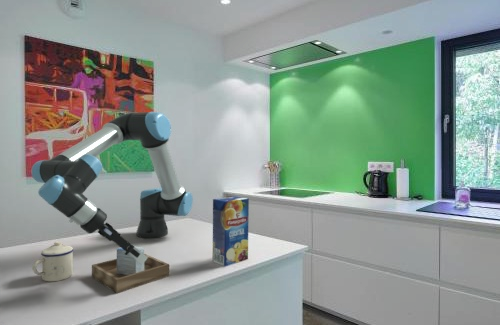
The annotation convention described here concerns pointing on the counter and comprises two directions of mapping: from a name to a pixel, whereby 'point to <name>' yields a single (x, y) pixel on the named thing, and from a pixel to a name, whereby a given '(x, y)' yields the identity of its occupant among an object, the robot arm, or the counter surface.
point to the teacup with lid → (56, 262)
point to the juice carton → (230, 230)
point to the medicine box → (128, 262)
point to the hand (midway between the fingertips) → (137, 255)
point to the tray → (120, 283)
